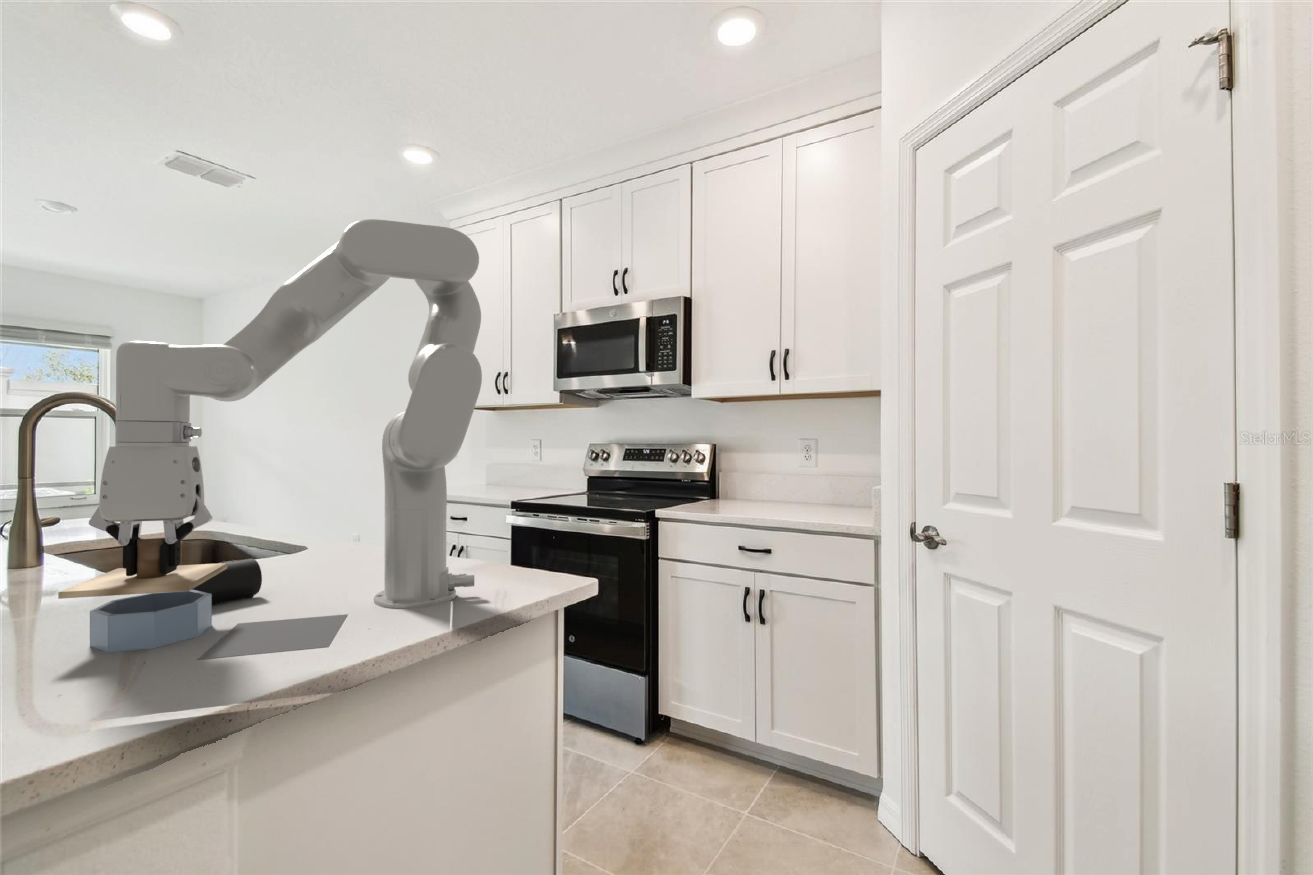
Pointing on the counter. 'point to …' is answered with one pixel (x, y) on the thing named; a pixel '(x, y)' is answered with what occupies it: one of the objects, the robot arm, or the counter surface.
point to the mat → (276, 636)
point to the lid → (145, 576)
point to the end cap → (234, 581)
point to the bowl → (150, 620)
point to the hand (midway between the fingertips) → (152, 571)
